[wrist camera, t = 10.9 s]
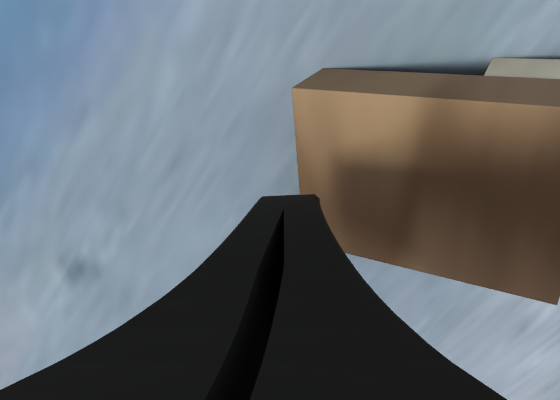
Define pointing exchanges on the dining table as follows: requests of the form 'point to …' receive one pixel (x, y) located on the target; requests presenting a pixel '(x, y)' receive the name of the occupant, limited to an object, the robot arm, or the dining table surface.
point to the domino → (438, 172)
